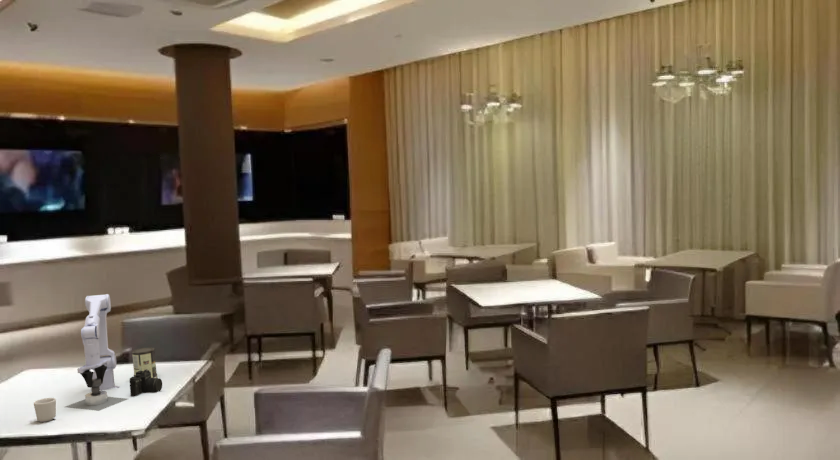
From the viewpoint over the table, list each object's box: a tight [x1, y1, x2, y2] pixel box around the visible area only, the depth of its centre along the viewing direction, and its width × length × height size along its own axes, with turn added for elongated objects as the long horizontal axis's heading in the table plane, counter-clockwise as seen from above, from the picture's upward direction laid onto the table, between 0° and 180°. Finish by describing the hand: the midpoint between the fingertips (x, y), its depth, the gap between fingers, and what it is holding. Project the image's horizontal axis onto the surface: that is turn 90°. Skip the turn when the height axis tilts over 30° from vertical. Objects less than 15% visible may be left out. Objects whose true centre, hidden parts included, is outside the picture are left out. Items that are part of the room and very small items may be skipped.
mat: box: [64, 396, 128, 412], centre depth 304 cm, size 20×16×1 cm
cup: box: [33, 397, 57, 423], centre depth 289 cm, size 11×8×8 cm
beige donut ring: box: [84, 390, 108, 406], centre depth 304 cm, size 8×8×4 cm
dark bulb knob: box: [90, 378, 101, 395], centre depth 303 cm, size 5×5×6 cm
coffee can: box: [131, 347, 158, 378], centre depth 342 cm, size 10×10×14 cm
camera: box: [129, 369, 163, 397], centre depth 317 cm, size 14×11×10 cm
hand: (95, 385), depth 303 cm, fingers closed on dark bulb knob, 5 cm apart
